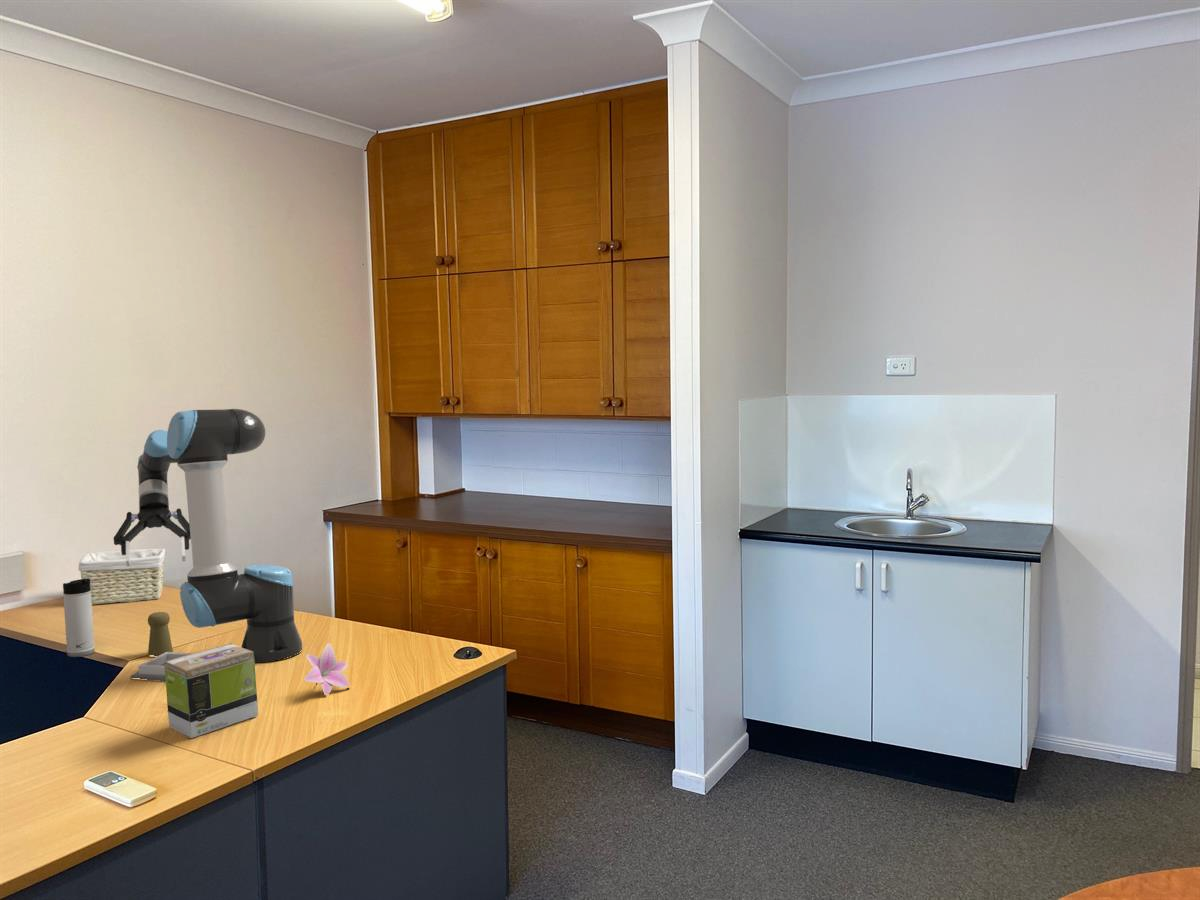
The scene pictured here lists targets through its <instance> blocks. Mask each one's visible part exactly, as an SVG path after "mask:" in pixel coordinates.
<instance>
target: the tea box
mask: <svg viewBox="0 0 1200 900" xmlns="http://www.w3.org/2000/svg"><path fill="white" fill-rule="evenodd" d="M255 663H256V662H255V661H254V652H253V651H250V650H247V649H244V648H241V646H239V645H236V644H233V643H232V642H231V643H227V644H224V645H220V646H214V647H212V648H209V649H204V650H201V651H197V652H194V653H193V654H190V655H186V656H183V657H179V658H175V659H172V660H168V661H165V663H164V664H165V679H166V681H165V688H166V691H165V692H166V703H167V704H166V705H167V716H168V717H167V718H168V726H169V727H170V728H171V729H173V730H174V731H176V732H178V733H179V734H182V735H184V736H185V737H188V738H190V739H194V738H197V737H199V736H202V735H205V734H209V733H212V732H215V731H216V730H219V729H223V728H225V727H228V726H232V725H234V724H238V723H240V722H244V721H246V720H249V719H253V718H255V717H258V716H259V707H258V694H257V693H258V691H257V689H258V688H257V678H256V675H257V674H256V664H255Z"/></svg>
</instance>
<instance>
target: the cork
mask: <svg viewBox="0 0 1200 900" xmlns="http://www.w3.org/2000/svg"><path fill="white" fill-rule="evenodd" d="M170 618H171V617H170V615H169V613H168V612H165V611H158V612H157V611H155V612H153V613H150V615H148V617H147V624H148V625H149V627H150V628H149V639H148V650H147V655H148V654H149V655H154V656H159V655H161V654H164V653H166V652H174V649H173V646H172V640H171V635H170V629H169V623H170V622H171V621H170V620H171V619H170Z"/></svg>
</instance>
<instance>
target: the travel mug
mask: <svg viewBox="0 0 1200 900" xmlns="http://www.w3.org/2000/svg"><path fill="white" fill-rule="evenodd" d="M62 588H63V589H62V590H63V611H64V623H65V624H64V625H65V628H64V629H65V637H66V638H65V639H66V655H67V656H68V657H72V658H78V657H79V658H80V657H85V656H89V655H91V654H93V653H94V652H95V650H96V649H95V633H94V623H93V621H94V619H93V618H94V617H93V605H92V601H91V589H90V579H82V578H80V579H74V580H70V582H64V583H62Z"/></svg>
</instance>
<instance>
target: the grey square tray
mask: <svg viewBox="0 0 1200 900" xmlns="http://www.w3.org/2000/svg"><path fill="white" fill-rule="evenodd" d="M190 654H193V653H190V652H189V653H188V652H174V651H173V652H166V653H164V654H161V655H159V656H157V657H155V658H154V657H152V658H151V659H149V660H148V661H145V662H143V663H141V664H139V665H138V666H137V667H138V671H137V672H134V673H132V674H131V675H130V679H131V678H140V679H147V680H146V681H150V680H160V681H159V682H166V679H165V664H164V663H165V661H168V660H172V659H175V658H179V657H183V656H186V655H190Z"/></svg>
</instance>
